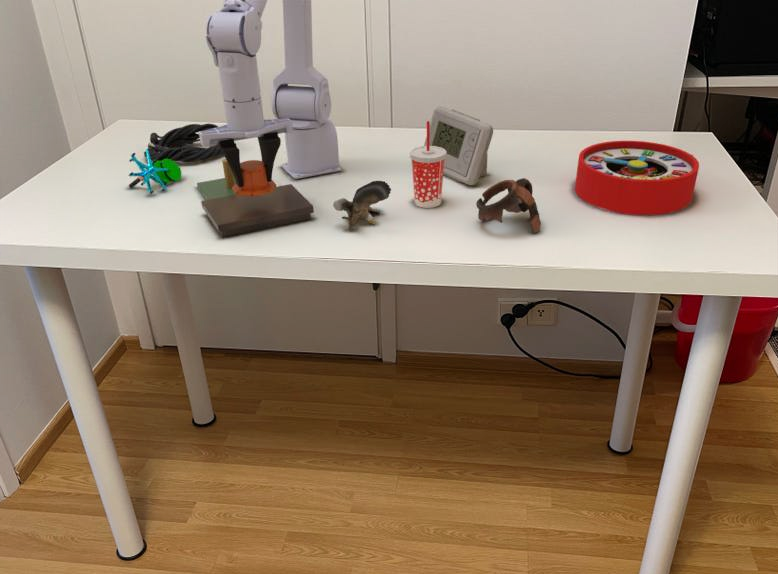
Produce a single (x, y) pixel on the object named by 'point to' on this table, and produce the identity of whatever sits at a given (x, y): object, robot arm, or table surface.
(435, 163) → the beverage cup
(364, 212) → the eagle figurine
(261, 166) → the hat
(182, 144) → the cable
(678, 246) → the table surface
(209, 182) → the stand
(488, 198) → the brown broken ring
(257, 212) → the stand
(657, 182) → the toy clock
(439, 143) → the digital clock
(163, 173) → the stick construction toy
